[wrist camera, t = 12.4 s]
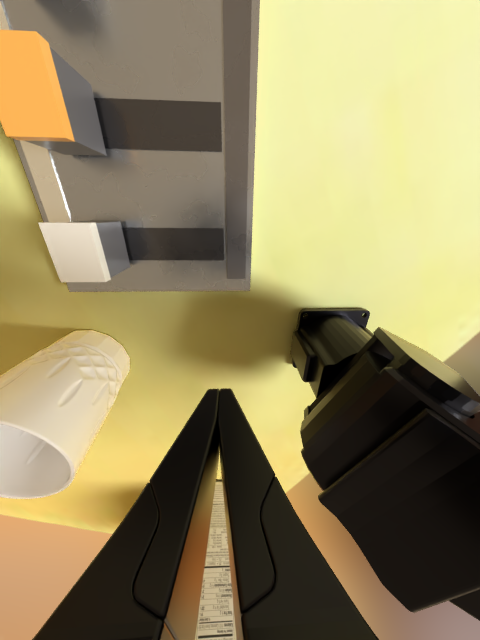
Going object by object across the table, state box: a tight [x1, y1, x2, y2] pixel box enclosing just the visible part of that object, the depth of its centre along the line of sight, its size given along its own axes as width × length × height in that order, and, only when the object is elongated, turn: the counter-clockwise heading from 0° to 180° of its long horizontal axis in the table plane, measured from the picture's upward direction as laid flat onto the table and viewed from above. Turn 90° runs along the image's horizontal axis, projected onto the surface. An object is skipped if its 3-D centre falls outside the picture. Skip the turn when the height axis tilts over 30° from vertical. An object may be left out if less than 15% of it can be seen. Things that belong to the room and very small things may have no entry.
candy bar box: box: [195, 480, 237, 640], centre depth 27 cm, size 11×5×16 cm, turn 173°
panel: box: [0, 0, 260, 292], centre depth 13 cm, size 14×20×2 cm
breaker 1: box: [0, 30, 107, 156], centre depth 10 cm, size 2×3×4 cm
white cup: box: [0, 330, 130, 499], centre depth 17 cm, size 8×8×10 cm
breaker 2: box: [38, 221, 130, 282], centre depth 13 cm, size 2×3×4 cm
